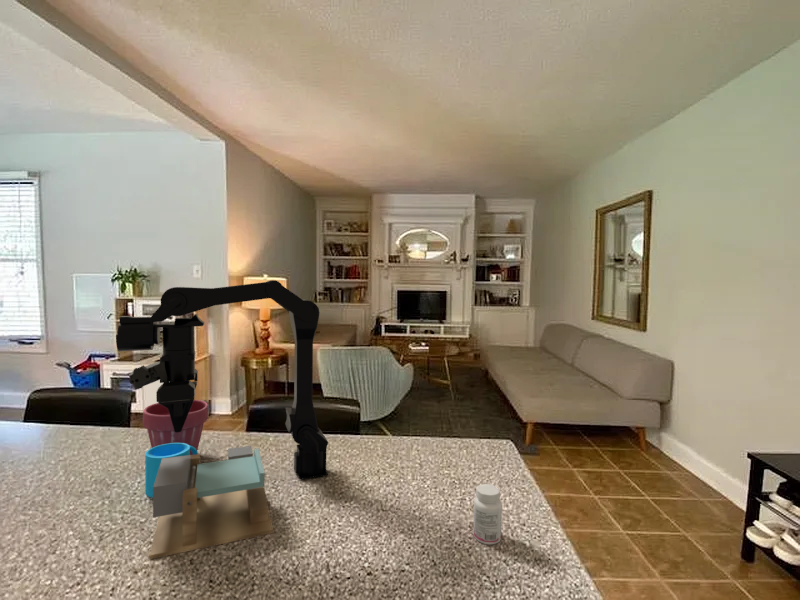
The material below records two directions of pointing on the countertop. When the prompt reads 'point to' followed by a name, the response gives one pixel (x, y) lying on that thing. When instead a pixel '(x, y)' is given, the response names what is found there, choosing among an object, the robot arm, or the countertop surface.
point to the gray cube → (240, 452)
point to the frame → (211, 519)
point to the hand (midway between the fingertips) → (179, 424)
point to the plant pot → (162, 427)
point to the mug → (155, 457)
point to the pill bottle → (487, 514)
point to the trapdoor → (203, 480)
